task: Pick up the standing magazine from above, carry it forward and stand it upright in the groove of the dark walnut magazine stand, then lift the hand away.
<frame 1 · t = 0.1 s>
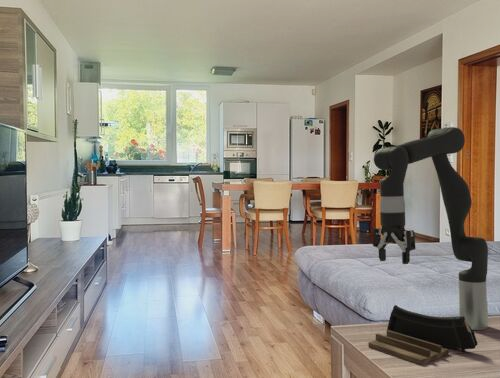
hand: (393, 262, 144), 29 cm above the table, tool pointing down, fingers open, 8 cm apart
magazine: (429, 343, 154), on the table
magazine stand: (407, 350, 148), on the table
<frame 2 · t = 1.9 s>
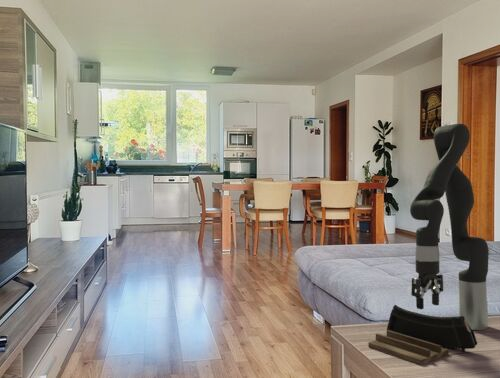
hand: (427, 306, 155), 12 cm above the table, tool pointing down, fingers open, 8 cm apart
nothing on the table moved.
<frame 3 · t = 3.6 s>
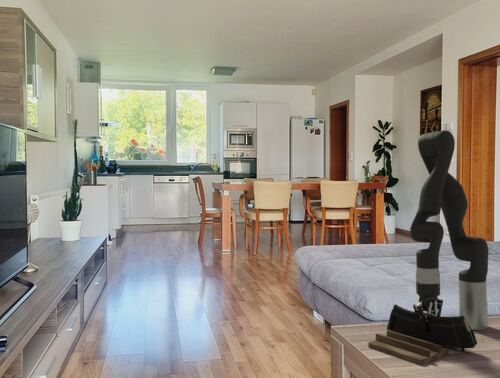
hand: (429, 331, 155), 4 cm above the table, tool pointing down, fingers closed on magazine, 3 cm apart
magazine: (429, 343, 155), on the table, touching gripper
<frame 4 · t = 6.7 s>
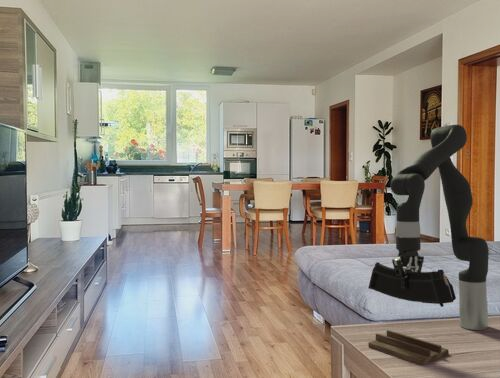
hand: (408, 288, 149), 20 cm above the table, tool pointing down, fingers closed on magazine, 3 cm apart
magazine: (409, 300, 149), point 16 cm above the table, touching gripper
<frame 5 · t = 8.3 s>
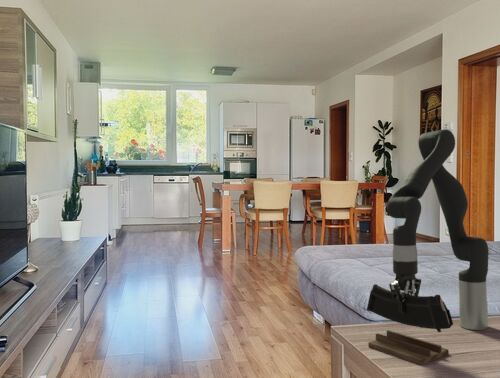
hand: (406, 311, 148), 12 cm above the table, tool pointing down, fingers closed on magazine, 3 cm apart
magazine: (406, 324, 148), point 9 cm above the table, touching gripper
when the fingers open (6 cm above the table, at t = 9.7 s): magazine stays where it is, resting on magazine stand.
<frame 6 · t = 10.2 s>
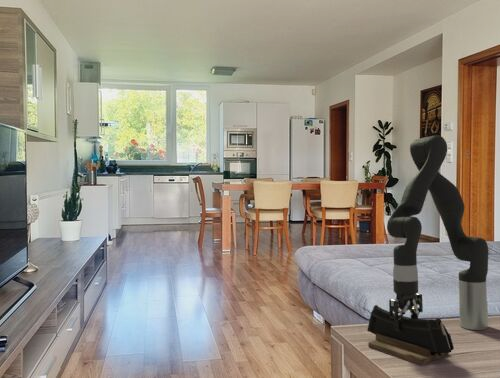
hand: (406, 328, 148), 7 cm above the table, tool pointing down, fingers open, 7 cm apart
magazine: (407, 346, 148), point 1 cm above the table, touching magazine stand
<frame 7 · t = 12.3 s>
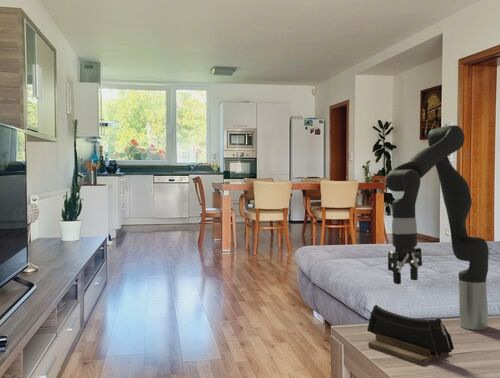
hand: (405, 281, 148), 22 cm above the table, tool pointing down, fingers open, 8 cm apart
nothing on the table moved.
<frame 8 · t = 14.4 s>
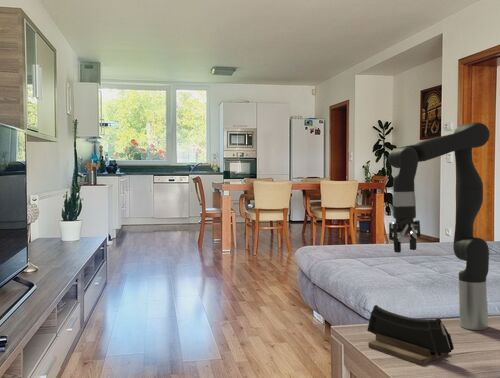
hand: (405, 251, 161), 30 cm above the table, tool pointing down, fingers open, 8 cm apart
nothing on the table moved.
at the end: magazine inside the target area on the magazine stand (0.1 cm from its centre), point 1.3 cm above the magazine stand's base; the gripper is holding nothing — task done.
